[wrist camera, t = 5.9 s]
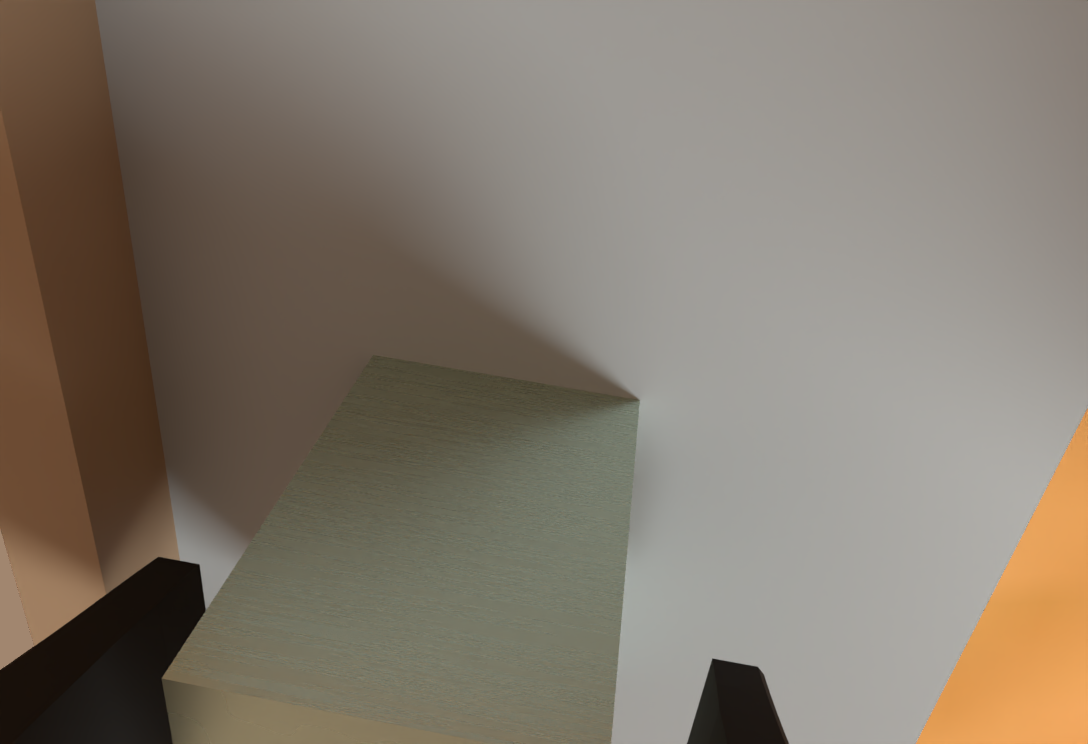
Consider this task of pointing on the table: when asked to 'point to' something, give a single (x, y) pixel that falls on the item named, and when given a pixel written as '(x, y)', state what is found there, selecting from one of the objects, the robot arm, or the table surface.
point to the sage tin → (427, 574)
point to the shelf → (565, 295)
